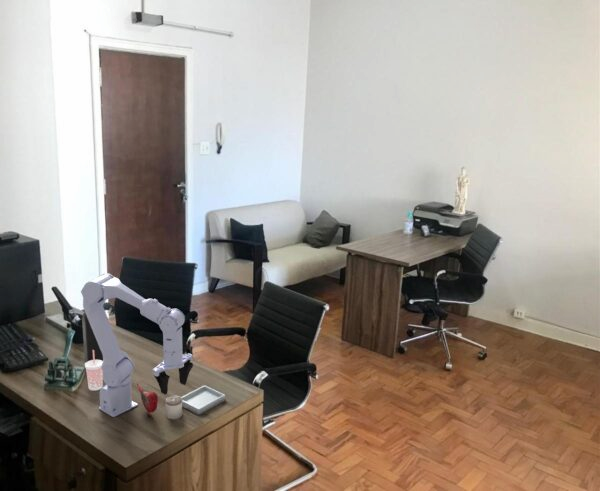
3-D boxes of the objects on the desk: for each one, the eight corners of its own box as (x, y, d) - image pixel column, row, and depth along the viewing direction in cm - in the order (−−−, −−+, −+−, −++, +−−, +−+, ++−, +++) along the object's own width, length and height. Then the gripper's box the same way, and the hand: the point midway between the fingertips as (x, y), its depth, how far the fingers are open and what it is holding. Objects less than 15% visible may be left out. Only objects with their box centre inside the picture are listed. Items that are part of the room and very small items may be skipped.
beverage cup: (98, 392, 186) (96, 354, 182) (82, 390, 187) (80, 352, 184) (108, 384, 192) (106, 347, 188) (92, 381, 193) (90, 345, 189)
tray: (198, 414, 175) (198, 409, 174) (177, 404, 181) (177, 398, 180) (225, 400, 184) (225, 394, 184) (204, 390, 190) (204, 385, 190)
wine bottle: (84, 366, 204) (79, 290, 196) (99, 362, 207) (95, 287, 200) (88, 372, 199) (83, 294, 192) (104, 368, 203) (100, 292, 195)
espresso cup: (173, 421, 171) (172, 405, 170) (162, 415, 174) (162, 399, 173) (185, 414, 175) (185, 399, 174) (175, 408, 178) (174, 393, 177)
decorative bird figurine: (153, 426, 168) (152, 397, 165) (133, 401, 181) (132, 373, 179) (162, 424, 169) (161, 395, 167) (141, 398, 183) (140, 371, 181)
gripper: (162, 360, 161) (163, 401, 164) (199, 344, 172) (199, 383, 176) (147, 353, 165) (148, 394, 168) (184, 338, 176) (184, 376, 180)
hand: (173, 388), depth 172 cm, fingers open, 7 cm apart
